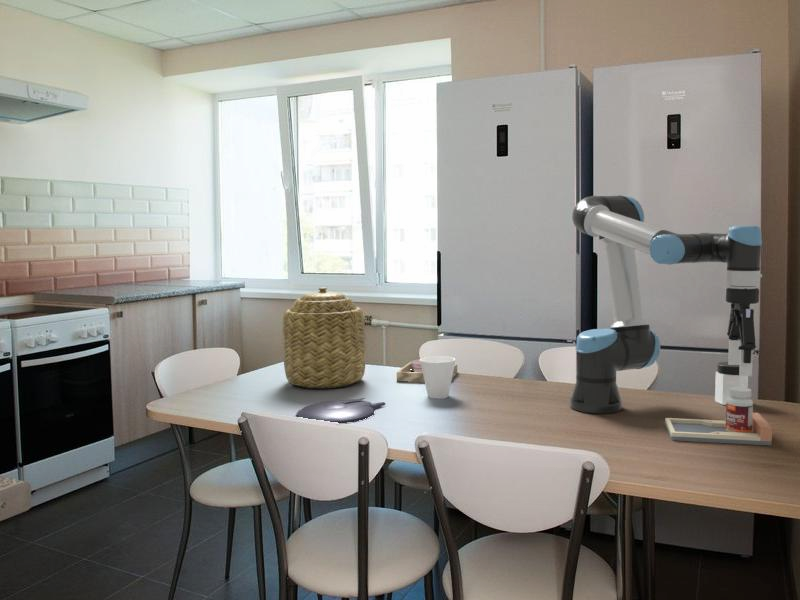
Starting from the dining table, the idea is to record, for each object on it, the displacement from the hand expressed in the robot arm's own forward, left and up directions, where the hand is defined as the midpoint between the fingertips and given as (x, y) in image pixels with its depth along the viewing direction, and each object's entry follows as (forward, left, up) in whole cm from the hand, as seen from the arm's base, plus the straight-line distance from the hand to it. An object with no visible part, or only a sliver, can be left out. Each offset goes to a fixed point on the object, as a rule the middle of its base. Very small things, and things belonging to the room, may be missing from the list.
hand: (739, 370), depth 175 cm
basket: (-130, +43, -17) cm, 138 cm away
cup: (-85, +29, -17) cm, 91 cm away
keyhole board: (-5, 0, -17) cm, 18 cm away
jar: (+5, +36, -17) cm, 40 cm away
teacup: (-97, +57, -18) cm, 114 cm away
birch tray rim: (-95, +58, -17) cm, 112 cm away
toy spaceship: (-110, +4, -18) cm, 111 cm away
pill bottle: (0, 0, -16) cm, 16 cm away
